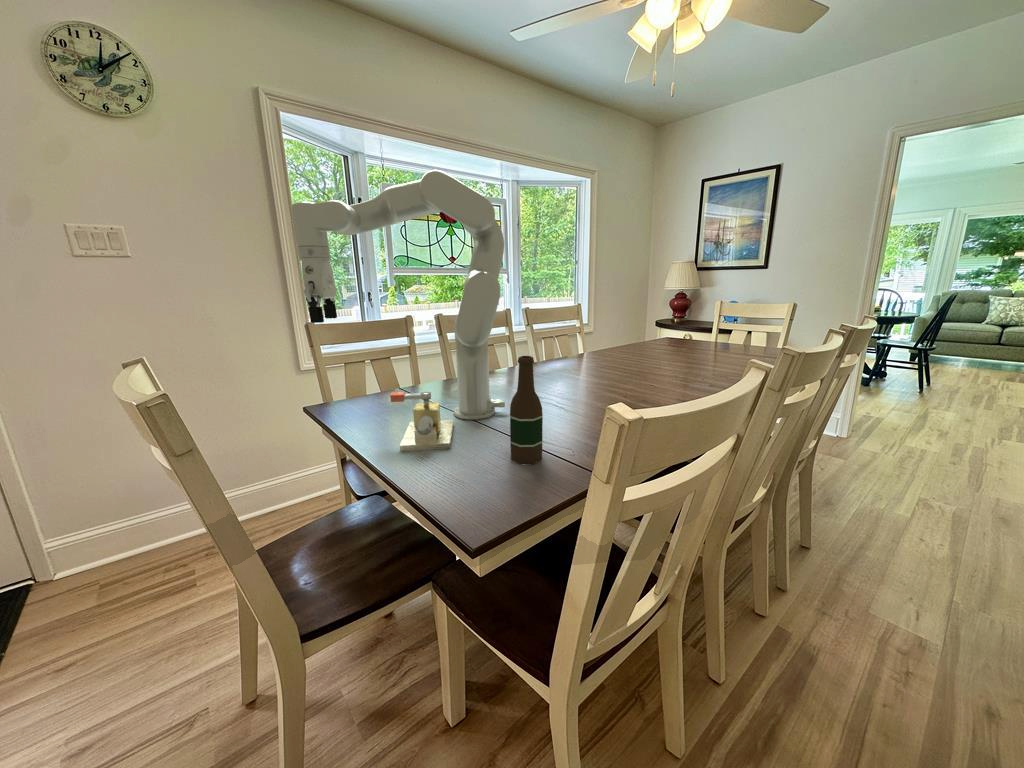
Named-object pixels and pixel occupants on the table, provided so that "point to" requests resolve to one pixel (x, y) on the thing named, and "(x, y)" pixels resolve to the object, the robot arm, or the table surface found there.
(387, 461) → the table surface
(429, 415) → the valve stand
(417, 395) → the valve lever
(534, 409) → the beer bottle
